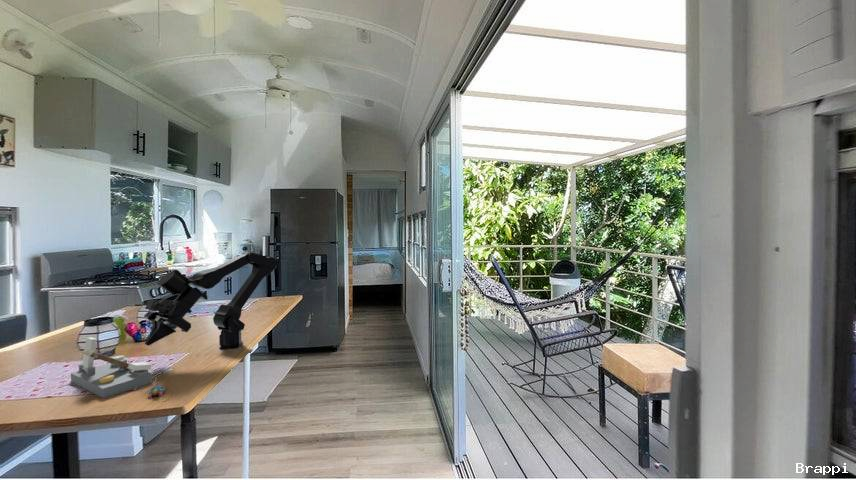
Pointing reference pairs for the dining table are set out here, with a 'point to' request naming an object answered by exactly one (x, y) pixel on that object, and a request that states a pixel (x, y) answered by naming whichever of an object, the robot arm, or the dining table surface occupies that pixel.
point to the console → (109, 379)
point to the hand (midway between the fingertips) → (146, 344)
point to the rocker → (139, 366)
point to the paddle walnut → (106, 358)
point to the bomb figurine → (156, 390)
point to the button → (117, 359)
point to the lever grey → (90, 346)
